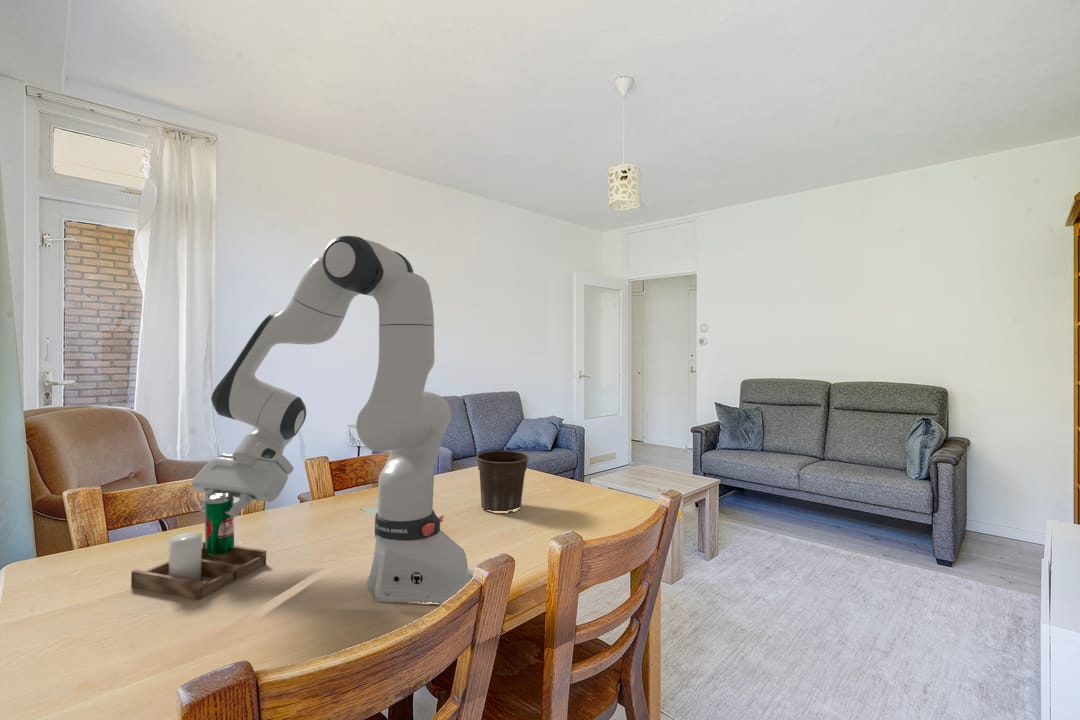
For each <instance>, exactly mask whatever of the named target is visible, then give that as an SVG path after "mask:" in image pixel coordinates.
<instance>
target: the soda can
mask: <svg viewBox="0 0 1080 720" xmlns="http://www.w3.org/2000/svg"><path fill="white" fill-rule="evenodd" d="M234 498H235V497H232V496H231V493H229V492H219V493H214V494H211V495H209V496H207V500H206V501H205V513H204V526H205V527H204V530H205V531H204V532H205V533H204V535H205V536H204V537H205V539H204V540H205V541H204V542H206V553H207V554H209V555H212V556H217V555H222V554H226V553H228V552H230V551H231V550H232V549H233V548H234V546H235V517H229V516H227V515H226V514H225V511H226V510H227V508H228V507H229V506H233V505H234V504H235V503H234V500H235V499H234Z"/></svg>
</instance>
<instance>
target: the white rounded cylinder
mask: <svg viewBox="0 0 1080 720" xmlns="http://www.w3.org/2000/svg"><path fill="white" fill-rule="evenodd" d="M168 542H169V543H168V561H169V576H174V577H180V578H186V579H191V580H197V581H201V566H202V547H203V533H200V532H186V533H185V532H184V533H181V534H177V535H173V536H172V537H170V538H169V540H168Z"/></svg>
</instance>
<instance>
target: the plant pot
mask: <svg viewBox="0 0 1080 720" xmlns="http://www.w3.org/2000/svg"><path fill="white" fill-rule="evenodd" d="M476 460H477V467H478V470H479V485H480V499H481V500H480V502H481V503H480V504H481V505H480V506H481V509H482V508H484V509H483V510H485V509H486V510H491V511H508V510H513V509H516V508H519V507H520V506H522V501H523V499H522V498H523V491H524V482H525V473H526V471H527V467H528V466H527V465H528V461H529V460H530V456H529V455H528V454H526V453H523V452H519V451H513V450H509V451H508V450H490V451H483V452H480V453H478V454H477V455H476ZM486 510H485V511H486Z"/></svg>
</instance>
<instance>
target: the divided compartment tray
mask: <svg viewBox="0 0 1080 720" xmlns="http://www.w3.org/2000/svg"><path fill="white" fill-rule="evenodd" d="M266 565H267V550H265V549H259V548H253V547H246V546H240V545H234V548H233V549H232V550H231V551H230V552H228V553H226V554H222V555H217V556H212V555H209V554H207V553H206V542H205V541H202V566H201V581H197V580H191V579H186V578H180V577H174V576H169V560H168V561H165V562H163V563H161V564H159V565H157V566H153V567H150V568H149V569H146V570H141V569H134V570H132V571H131V572H130V573H131V575H130V577H131V578H130V579H131V581H130V582H131V583H130V584H131V585H130V587H131V588H132V589H139V590H142V591H149V592H155V593H159V594H165V595H169V596H170V595H171V596H175V597H180V598H186V599H191V600H196V601H200V600H202V599H204V598H205V597H207V596H209V595H211V594H213V593H215V592H216V591H219V590H221V589H222V588H225V587H227V586H228V585H230V584H232V583H234V582H236V581H238V580H240V579H242V578H243V577H245V576H248V575H249V574H251V573H253V572H255V571H257V570H258V569H260V568H262V567H264V566H266Z"/></svg>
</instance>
